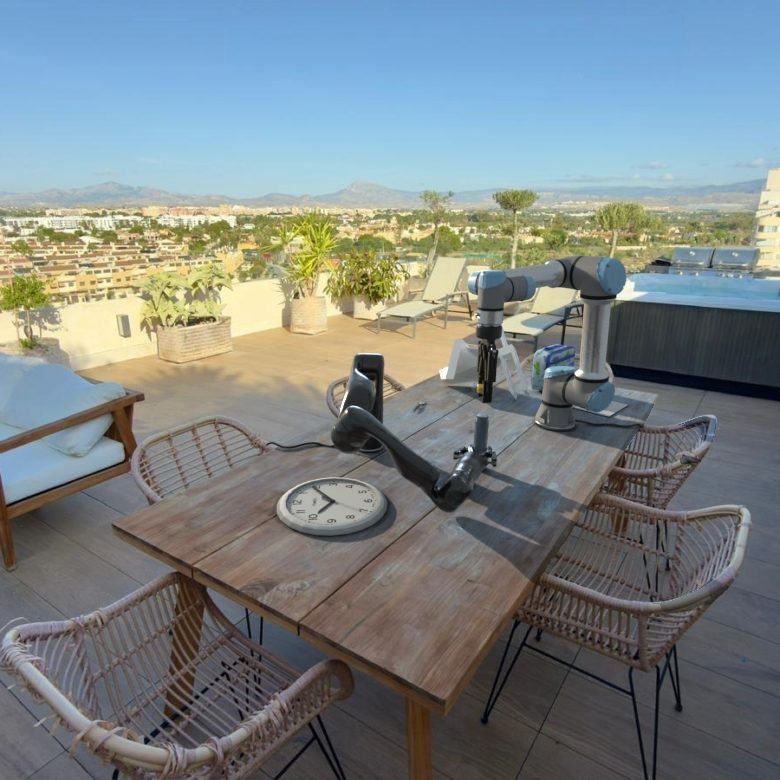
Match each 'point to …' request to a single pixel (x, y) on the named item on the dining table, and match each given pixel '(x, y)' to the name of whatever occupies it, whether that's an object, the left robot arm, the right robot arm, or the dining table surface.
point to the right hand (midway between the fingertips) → (484, 399)
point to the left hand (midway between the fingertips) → (481, 447)
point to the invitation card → (608, 408)
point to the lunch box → (550, 362)
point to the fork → (420, 403)
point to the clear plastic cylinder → (481, 433)
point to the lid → (481, 388)
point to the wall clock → (331, 506)
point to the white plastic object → (466, 365)
